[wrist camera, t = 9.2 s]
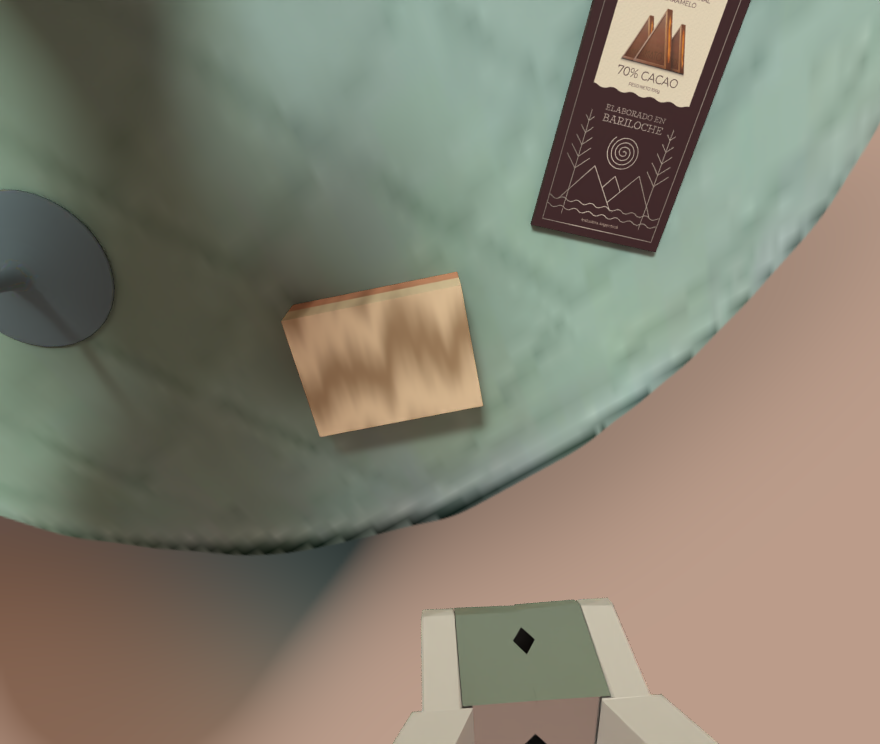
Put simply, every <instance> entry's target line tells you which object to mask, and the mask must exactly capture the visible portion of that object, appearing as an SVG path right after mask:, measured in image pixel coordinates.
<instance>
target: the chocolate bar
mask: <svg viewBox="0 0 880 744" xmlns="http://www.w3.org/2000/svg"><path fill="white" fill-rule="evenodd" d="M749 3H750V0H593V1H592V5H591V8H590V12H589V15H588V19H587V23H586V26H585V30H584V33H583V37H582V41H581V44H580V48H579V51H578V55H577V59H576V62H575V66H574V69H573V73H572V77H571V80H570V84H569V87H568V91H567V95H566V98H565V102H564V105H563V109H562V113H561V116H560V120H559V123H558V127H557V131H556V134H555V138H554V141H553V145H552V149H551V152H550V156H549V159H548V163H547V167H546V170H545V174H544V177H543V181H542V185H541V188H540V192H539V195H538V199H537V203H536V206H535V210H534V213H533V217H532V221H531V224H532V225H535V226H540V227H544V228H549V229H553V230H558V231H562V232H567V233H571V234H576V235H580V236H585V237H589V238H594V239H598V240H603V241H607V242H612V243H616V244H621V245H625V246H630V247H635V248H639V249H644V250H648V251H653V252H656V249H657V247H658V244H659V241H660V239H661V236H662V233H663V231H664V228H665V225H666V223H667V220H668V218H669V215H670V212H671V210H672V207H673V204H674V202H675V199H676V196H677V194H678V191H679V188H680V186H681V183H682V180H683V178H684V175H685V172H686V170H687V167H688V165H689V162H690V159H691V157H692V154H693V151H694V149H695V146H696V143H697V141H698V138H699V135H700V133H701V130H702V127H703V125H704V122H705V120H706V117H707V114H708V112H709V109H710V106H711V104H712V101H713V98H714V96H715V93H716V90H717V88H718V85H719V82H720V80H721V77H722V75H723V72H724V69H725V67H726V64H727V61H728V59H729V56H730V53H731V51H732V48H733V45H734V43H735V40H736V37H737V35H738V32H739V30H740V27H741V24H742V22H743V19H744V16H745V14H746V11H747V8H748V6H749Z"/></svg>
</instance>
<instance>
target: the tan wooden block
mask: <svg viewBox="0 0 880 744" xmlns="http://www.w3.org/2000/svg"><path fill="white" fill-rule="evenodd" d="M281 323H282V325H283V328H284V331H285V334H286V337H287V340H288V343H289V346H290V349H291V352H292V355H293V358H294V361H295V364H296V367H297V370H298V373H299V376H300V379H301V382H302V385H303V388H304V391H305V394H306V397H307V400H308V403H309V406H310V409H311V412H312V415H313V418H314V421H315V424H316V427H317V429H318V432H319V435H320V437H323V436H328V435H333V434H338V433H344V432H349V431H354V430H359V429H365V428H370V427H375V426H380V425H385V424H391V423H396V422H401V421H406V420H412V419H417V418H422V417H427V416H432V415H438V414H443V413H448V412H453V411H459V410H464V409H469V408H474V407H480V406H483V403H482V397H481V392H480V386H479V381H478V376H477V370H476V365H475V359H474V354H473V348H472V343H471V337H470V332H469V327H468V321H467V316H466V310H465V305H464V299H463V294H462V288H461V284H460V280H459V277H458V273H457V272H453V273H448V274H443V275H439V276H434V277H429V278H424V279H419V280H414V281H409V282H404V283H399V284H394V285H389V286H384V287H379V288H374V289H369V290H364V291H360V292H355V293H350V294H345V295H340V296H335V297H330V298H325V299H320V300H315V301H310V302H305V303H300V304H295V305H293V306H292V307H291V308H290V310H289V311H288V312H287V314H286V315H285V317H284V318H283V319H282V321H281Z"/></svg>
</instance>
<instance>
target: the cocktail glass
mask: <svg viewBox="0 0 880 744" xmlns="http://www.w3.org/2000/svg"><path fill="white" fill-rule="evenodd" d="M113 299H114V282H113V275H112V271H111V268H110V265H109V261H108V259H107V257H106V255H105V253H104V251H103V249H102V247H101V246H100V244H99V243H98V241H97V240H96V238H95V237H94V235H93V234H92V233H91V232H90V231H89V230H88V228H87V227H86V226H85V225H84V224H83V223H82V222H81V221H79V220H78V219H77V218H76V217H75V216H74V215H73V214H71V213H70V212H68V211H67V210H66V209H64V208H63V207H61V206H59V205H58V204H56V203H54V202H52V201H50V200H48V199H46V198H43V197H41V196H38V195H35V194H32V193H28V192H24V191H18V190H5V189H3V190H0V332H1V333H3V334H5V335H7V336H9V337H11V338H14V339H16V340H19V341H21V342H25V343H29V344H32V345H39V346H64V345H70V344H74V343H76V342H79V341H82V340H84V339H86V338H87V337H89V336H91V335H92V334H93V333H94V332H96V331H97V330H98V329H99V328H100V327H101V326H102V324H103V323H104V322H105V320H106V319H107V317H108V315H109V313H110V310H111V307H112V303H113Z"/></svg>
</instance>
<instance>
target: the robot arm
mask: <svg viewBox="0 0 880 744" xmlns="http://www.w3.org/2000/svg"><path fill="white" fill-rule="evenodd" d="M454 614H455V617H454ZM421 649H422V650H421V654H422V656H421V658H422V711H417V712H412V713H411V714H410V716H409V718H408V719H407V721H406V723H405V724H404V726H403V728H402V729H401V731H400V733H399V734H398V736H397V738H396V739H395V741H394V742H393V744H718V743H717V742H716V741H715V740H714V739H713V738H712V737H710V736H709V735H708V734H707V733H706V732H705V731H704V730H702V729H701V728H700V727H699V726H698V725H696V724H695V723H694V722H693V721H692V720H691V719H690V718H688V717H687V716H686V715H685V714H684V713H683V712H681V711H680V710H679V709H678V708H677V707H676V706H674V705H673V704H672V703H671V702H670V701H669V700H668V699H666V698H665V697H664V696H663V695H662V694H658V695H657V694H655V695H651V693H650V690H649V688H648V686H647V683H646V681H645V678H644V676H643V674H642V671H641V669H640V667H639V664H638V662H637V660H636V657H635V655H634V653H633V650H632V648H631V646H630V643H629V641H628V638H627V636H626V634H625V631H624V629H623V626H622V624H621V622H620V619H619V617H618V615H617V612H616V610H615V608H614V605H613V603H612V602H611V601H610V600H609V599H608V598H596V599H583V600H576V601H575V600H564V601H551V602H539V603H527V604H515V605H514V606H490V607H466V608H454V610H453V608H451V609H430V610H423V611H422V617H421Z"/></svg>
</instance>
